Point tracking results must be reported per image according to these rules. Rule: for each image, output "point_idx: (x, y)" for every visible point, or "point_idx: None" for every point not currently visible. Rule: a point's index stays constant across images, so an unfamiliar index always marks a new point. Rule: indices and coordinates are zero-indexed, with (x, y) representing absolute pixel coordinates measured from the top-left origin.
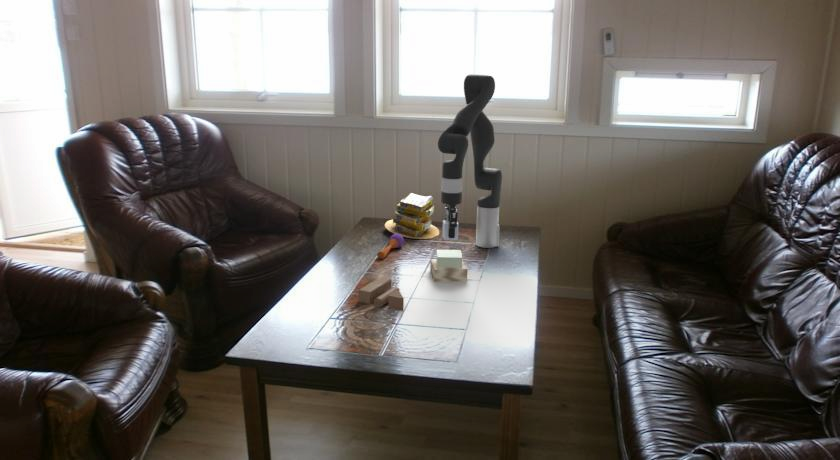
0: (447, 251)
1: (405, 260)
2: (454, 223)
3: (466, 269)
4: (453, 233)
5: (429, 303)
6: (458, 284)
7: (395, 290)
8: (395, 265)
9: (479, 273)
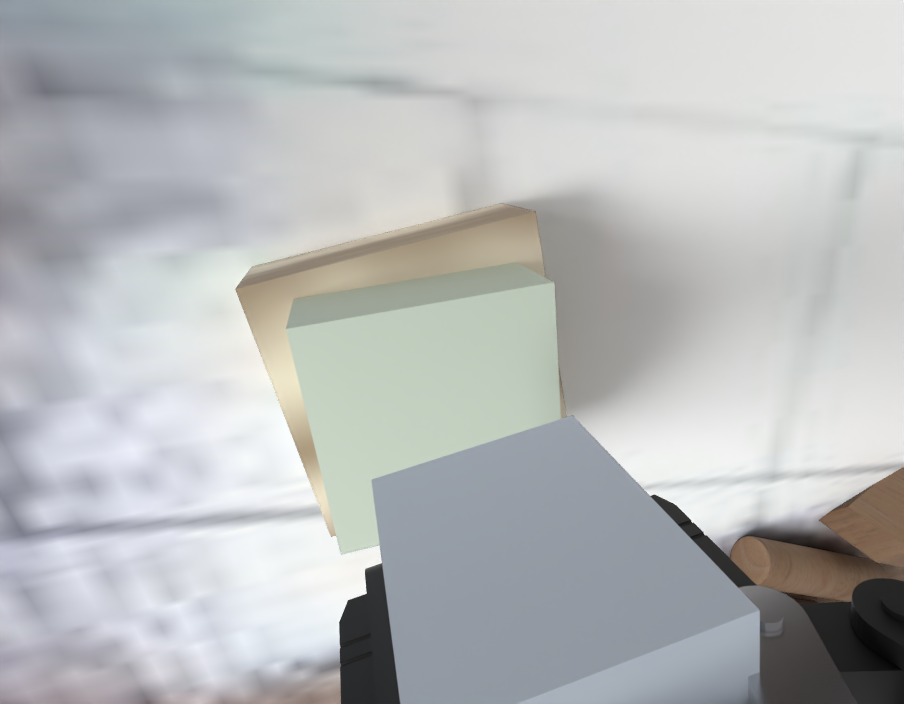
0: (375, 453)
1: (157, 667)
2: (838, 694)
3: (534, 220)
4: (698, 536)
5: (842, 379)
6: (574, 259)
7: (794, 563)
8: (284, 682)
9: (301, 101)
